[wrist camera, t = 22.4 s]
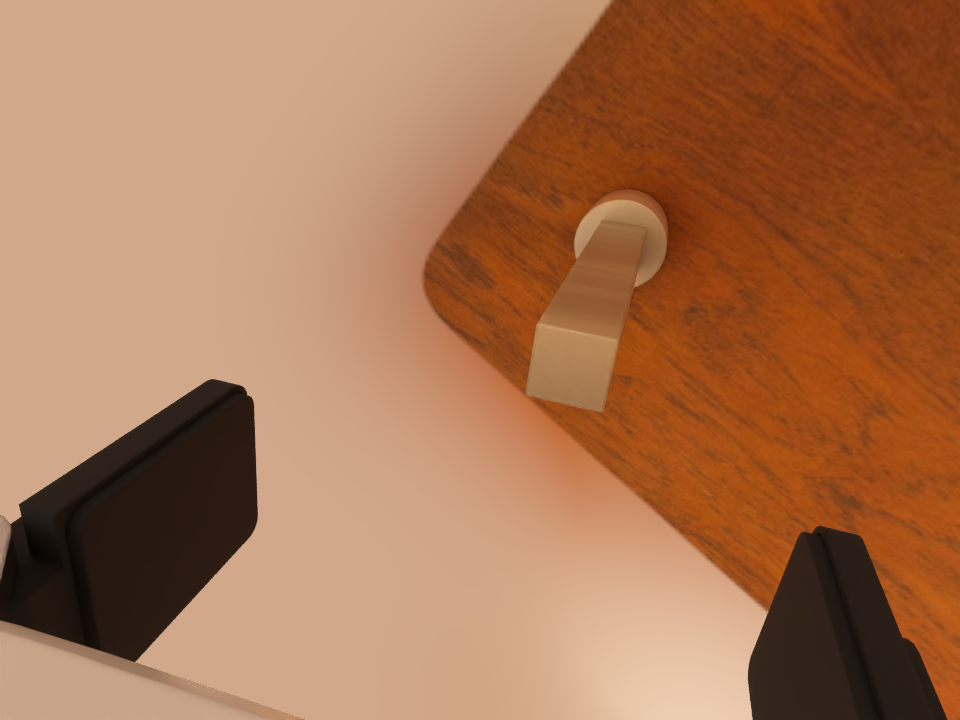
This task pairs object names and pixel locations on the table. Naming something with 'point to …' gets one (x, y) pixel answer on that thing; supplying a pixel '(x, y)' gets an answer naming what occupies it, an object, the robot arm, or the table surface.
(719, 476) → the table surface
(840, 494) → the table surface
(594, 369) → the stirrer
